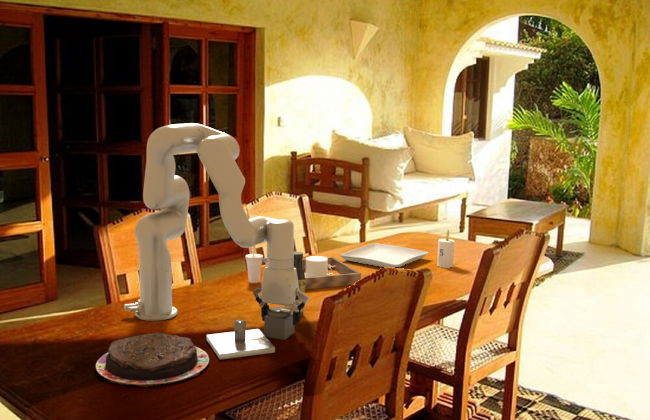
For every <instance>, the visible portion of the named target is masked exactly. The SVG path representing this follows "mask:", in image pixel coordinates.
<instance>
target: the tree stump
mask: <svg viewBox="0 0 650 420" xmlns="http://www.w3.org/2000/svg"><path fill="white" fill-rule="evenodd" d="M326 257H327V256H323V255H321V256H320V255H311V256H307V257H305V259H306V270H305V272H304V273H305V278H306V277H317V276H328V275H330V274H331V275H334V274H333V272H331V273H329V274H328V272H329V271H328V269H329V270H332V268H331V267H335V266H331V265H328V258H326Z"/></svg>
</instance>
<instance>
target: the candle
mask: <svg viewBox="0 0 650 420" xmlns="http://www.w3.org/2000/svg"><path fill="white" fill-rule="evenodd" d="M437 243H438V244H437V260H436V261H437V262H436V263H437V264H436V265H437V267H438V266H439V267H438V268H441V267H442V269H451V268H450V267H452V268H453V267H454V257H455V256H454V255H455V240H454V239H450V229H447V231H446V234H445V238H440V239H438V241H437Z"/></svg>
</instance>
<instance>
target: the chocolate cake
mask: <svg viewBox="0 0 650 420" xmlns="http://www.w3.org/2000/svg"><path fill="white" fill-rule="evenodd" d="M209 363H210V358H209V354H208V353H207V352H206V350H203V349H202V348H200V347H197V346H196V345H194V343H193V341H192V339H191V338H189V337H186V336H184V337H183V336H179V335H176V334H170V333H166V332H163V331H158V332H153V333H152V332H151V333H145V334H139V335H138V334H137V335H133V336H130V337H125V338H121V339H117V340H114V341H112V342H111V343H110V346H109V347H108V350H107V352H106V353H104V354H103V355H102V356H101V357H100V358H98V359H97V361H96V363H95V371H96V372H97V373H98V375H100V376H101V377H102V378H104V379H106V380H108V381H109V382H110V383H111V382H113V383H112V384H116V383H118V385H124V384H125V385H126V386H129V385H132V386H137V387H140V388H141V387H142V388H149V386H151V387H154V385H155V386H162V385H161V384H163V385H167V383H168V384H171V383H176V382H182V381H184V380H188V379H190V378H193V377H197V376H199V375H200V373H201V372H202V371H204V370H205V369H206V367H208V365H209ZM125 385H124V386H125Z"/></svg>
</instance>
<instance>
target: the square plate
mask: <svg viewBox="0 0 650 420" xmlns="http://www.w3.org/2000/svg"><path fill="white" fill-rule="evenodd" d="M429 253H430V252H429V251H425V250H420V249H416V248H410V247H405V246H397V245H391V244H382V243H378V242H377V243H376V242H373V243H371V244H367V245H363V246H360V247H357V248H353V249H351V250H349V251H346V252H343V253H341V254H339V256H340V258H341V259H343V260H345V261H348V262H353V263H356V262H358V264H361V263H362V265H367V264H368V265H367V266H372V265H373V266H374V267H377V266H379V267H378V268H382V267H399V268H400V267H403V266H405V264H406V265H408V264H411V263H413V261H414V262H416V261H418V260H421V259H423V258H424V257H425V256H427V255H428V254H429ZM373 266H372V267H373Z"/></svg>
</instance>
